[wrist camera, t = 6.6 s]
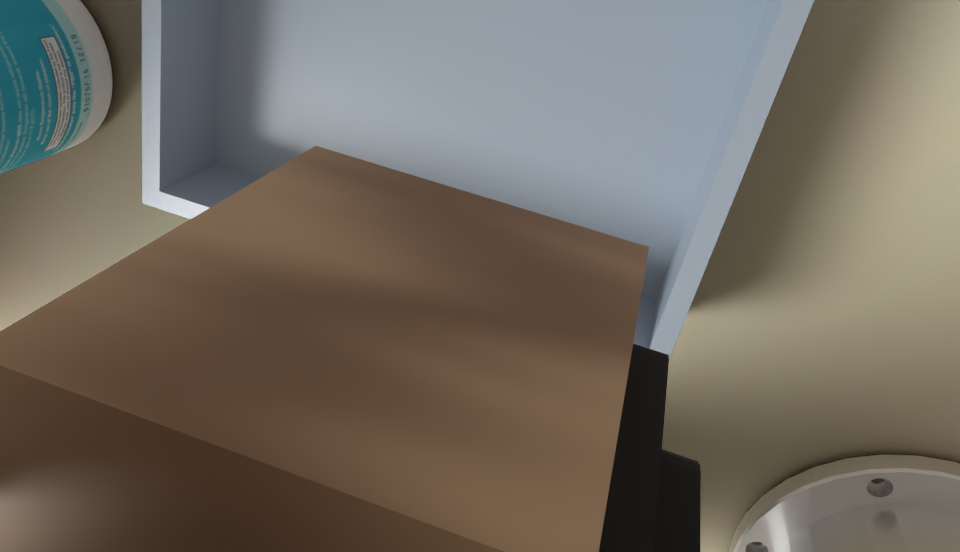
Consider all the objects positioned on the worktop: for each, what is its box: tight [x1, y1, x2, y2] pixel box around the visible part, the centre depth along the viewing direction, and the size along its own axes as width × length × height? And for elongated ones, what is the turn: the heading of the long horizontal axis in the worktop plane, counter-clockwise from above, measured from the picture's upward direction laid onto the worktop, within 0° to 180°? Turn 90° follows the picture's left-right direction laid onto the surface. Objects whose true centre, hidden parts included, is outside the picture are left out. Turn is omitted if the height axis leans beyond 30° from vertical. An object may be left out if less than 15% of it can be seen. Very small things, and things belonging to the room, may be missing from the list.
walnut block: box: [0, 146, 649, 552], centre depth 9 cm, size 5×5×6 cm
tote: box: [142, 0, 814, 358], centre depth 25 cm, size 19×13×4 cm
